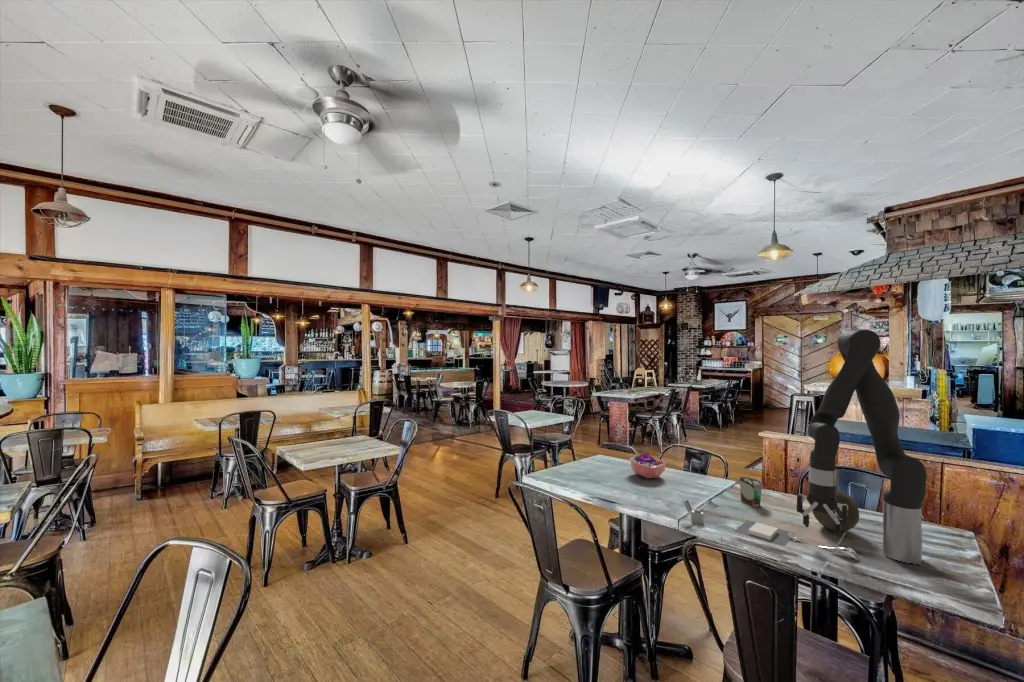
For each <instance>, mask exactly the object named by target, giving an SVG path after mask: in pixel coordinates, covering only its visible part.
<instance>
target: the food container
mask: <svg viewBox="0 0 1024 682" xmlns="http://www.w3.org/2000/svg"><path fill="white" fill-rule="evenodd" d="M738 479H739V480H738V481H739V485H740V486H739V489H740V490H739V492H740V501H741V502H743V503H744V504H746V505H748V506H750V507H752V508H761V499H762V498H761V497H762V491H763V490H764V485H763V482H762V481H761V480H759V479H757V478H753V477H748V476H739V478H738Z"/></svg>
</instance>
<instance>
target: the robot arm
mask: <svg viewBox="0 0 1024 682" xmlns="http://www.w3.org/2000/svg"><path fill="white" fill-rule="evenodd" d="M880 347H881V339H880V336H879V335H878V334H877V333H876V332H874V331H873V330H870V329H865V328H862V329H861V328H860V329H857V328H856V329H848V330H844V331H843V332H842V333H841V334H840V335H839V336H838V339H837V348H838V350H839V353H840V356H841V357H842V359H843V361H844V363H843V364H842V366H841V368H840V370H839V372H838V373H837V374H836V376H835V377H834V378H833V380H832V381H831V382H829V385H828V386H827V388H826V389H825V392H824V395H823V398H822V399H821V403H820V405H819V407H818V409H817V410H816V412H815V414H814V415H813V416H812V418H811V419H810V421H809V424H808V426H807V432H808V435H809V437H810V438H811V439H812V440H814V448H813V449H812V450H811V451H810V453H809V471H808V494H807V495H804V494H803V493H799V494H798V495H796V512H797V513H800V514H801V515H802V524H803V525H804V527H805V528H809V527H810V513H811V512H812V510H813V509H814V510H815V511H817V512H822V513H825V514H827V513H829V515H830V516H831V517H832V518H833V520H834V521H835V531H834V535H835V536H838V535H840V533H841V532H842V531H841V524H847V522H848V505H847V504H840V503H837V501H836V490H837V471H836V468H837V467H836V466H837V465H836V464H837V461H836V458H837V457H836V456H837V454H838V451H839V448H840V447H839V446H840V441H841V438H840V437H841V436H840V435H841V434H840V432H839V430H838V428H837V427H836V426H835V425H836V423H837V421H838V420H839V419H842V418H844V417H845V415H846V413H847V410H848V407H849V405H850V403H851V400H852V398H853V395H854V393H856V397H857V399H858V404H859V406H860V408H861V412H862V415H863V418H864V420H865V422H866V425H867V428H868V431H869V434H870V436H871V439H872V444H873V447H874V452H875V453H874V454H875V458H876V463H877V466H878V469H879V470H880V472H881V473H882V474H883V475H884V476H885V477H887V478H888V479H891V482H890V483H891V485H890V490H885V491H884V492H883V494H882V495H883V497H882V501H883V502H882V553H883V554H885V555H884V556H886V557H887V556H888V557H887V558H889V557H890V558H889V559H891V558H893V559H892V560H894V559H895V560H894V561H896V560H898V561H897V562H899V561H902V562H901V563H903V562H906V563H905V564H908V563H913V564H912V565H917V564H919V565H918V566H922V562H923V561H922V560H923V530H922V526H923V525H922V524H923V523H922V517H923V516H922V515H923V513H922V511H923V510H922V508H923V507H922V506H923V502H924V501H925V499H926V490H927V478H928V476H927V469H926V466H925V464H924V463H923V462H922V461H921V460H919V459H918V458H916V457H914V456H911V455H908V454H906V452H905V451H904V449H903V447H902V444H901V441H900V439H899V434H898V433H899V431H898V430H899V425H900V417H901V416H900V410H899V409H900V408H899V406H898V403H897V401H896V397H895V396H894V393H893V391H892V389H891V388H890V386H889V385H888V384H887V382H886V381H885V380H884V378H883V377H882V375H881V374H880V372H878V369H876V367H875V364H874V361H873V360H874V358H875V356H876V355H877V353H878V352H879V350H880ZM805 500H807V502H808V504H809V506H808V507H807V508H806V509H804V507H803V503H804V502H805ZM836 507H839V508H840V510H841V511H842V519H840V518H839V516H838V515H837V513H836V511H835V510H834V509H835V508H836Z"/></svg>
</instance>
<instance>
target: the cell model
mask: <svg viewBox="0 0 1024 682" xmlns="http://www.w3.org/2000/svg"><path fill="white" fill-rule="evenodd" d="M629 461H630V468H631V470H632V472H633V473H635V474H636V475H638V476H641V477H643V478H645V479H657V478H659V477H661V475H662V474H663V473H664V472H665V470H666V462H665V460H663V459H661V458H658V457H654V456H651V455H650V453H647V452H642V453H640V455H636V456H631V457H629Z"/></svg>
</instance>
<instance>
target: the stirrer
mask: <svg viewBox="0 0 1024 682" xmlns="http://www.w3.org/2000/svg"><path fill="white" fill-rule="evenodd" d="M792 533H793V532H792ZM792 533H788V535H789V536H790V537H791V539H792V540H794V541H796V542H798V543H800V544H804V545H809V546H813V547H815V548H820V549H821V548H822V549H832V550H837V551H839V552H841V553H844V554H846V555H847V556H850V557H851V558H853V559H854V560H856V561H859V560H860V557H859V555H858V554H857V552H856V551H855V550H854V549H853V548H851V547H848V546H845V545H844V546H841V545H840V546H838V545H837V546H824V545H823V546H822V545H817V544H813V543H811V542H808V541H807V540H805V539H803V538H801V537H799V536H798V535H796V534H795V535H794V534H792ZM791 535H793V537H792V536H791ZM858 559H859V560H858Z"/></svg>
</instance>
